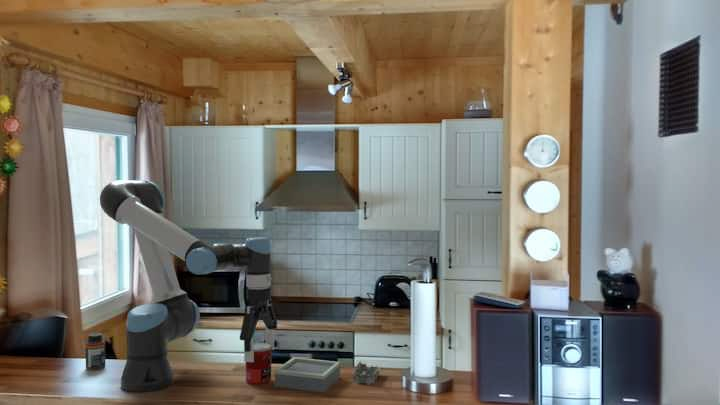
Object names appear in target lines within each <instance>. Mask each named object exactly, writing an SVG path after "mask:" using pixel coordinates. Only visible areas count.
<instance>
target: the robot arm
mask: <svg viewBox="0 0 720 405" xmlns="http://www.w3.org/2000/svg"><path fill="white" fill-rule="evenodd" d="M165 204H166V196H165V193H164V191H163V189H162V188H161V187H160V185H158V184H156V183H155V182H152V181H149V180H148V181H147V180H143V179H142V180H122V179H121V180H115V181H111V182H109V183H108V184H106V185H105V186H104V187H103V189H102V190H101V192H100V195H99V205H100V208H101V209H102V211H103V212H104V213H105V214H106V215H107V216H108V218H111V219H112V220H113V221H115V222H117V223H118V224H120V225H127V226H129V227H131V228H132V229H133V231H134V234H135V238H136V240H137V244H138V247H139V251H140V254H141V258H142V261H143V265H144V268H145V271H146V274H147V278H148V282H149V286H150V289H151V292H152V295H153V299H152V301H151V302H150V303H148V304H147V303H146V304H142V305H138V306H136V307H134V308H132V309H131V310H129V312H128V313H127V317H126V322H125V323H126V324H125V326H126V363H125V365H124V368H123V371H122V374H121V377H120V388H121V389H122V390H123V391H124V390H125V391H128V392H134V393H135V392H137V393H138V392H139V393H140V392H141V393H143V392H151V391H157V390H160V389H161V390H162V389H164V388H167V387H169V386H170V385H172V384H173V383H174V372H173V370H172V367H171V364H170V360H169V357H168V343H170V342H173V341H177V340H178V339H180V338H183V337H187V336H188V335H190V334H192V332H194V331H195V330H196V328H197V327H198V326H199V323H200V319H201V318H200V317H201V315H200V314H201V313H200V309H199V306H198V305H197V303H196V302H194V301H193V300H191V299H189V296H188V292H186V291H185V290H183V289H181V286H180V284H179V281H178V277H177V274H176V270H175V267H174V263H173V260H172V257H171V254H174V256H176V257H178V258H179V259H181V260H182V261H184V262H186V264H185V265H186V267H187V268H188V270H189V272H190V273H192V274H194V275H208V274H211V273H214V272H217V271H222V270H227V269H230V268H231V269H232V268H233V269H235V268H236V269H237V268H240V269H242V268H243V269H244V268H245V271H246V272H245V273H246V278H245V279H246V280H245V281H246V287H247V288H246V300H247V302H250V306H245V307H244V315H243V320H242V325H241V329H240V334H239V340H240V341H243V344H244V345H243V346H244V347H243V350H244V353H243V354H244V356H243V358H244V363H246V362H254V344H253V343H254V339H253V337H254V333H255V330H256V327H257V324H258V322H259V321H260V320H261V319H262V321H263V323H264V326H265V327H266V328H265V330H264V331H265V332H264V337H265V338H264V343H267V344H270V345H271V351H273V350H275V330H276V329H277V328H278V321H277V316H276V313H275V309H274V305H273V299H272V288H271V284H272V279H273V278H272V277H271V276H272V274H271V273H272V272H271V253H272V249H271V240H270V238H268V237H265V236H264V237H263V236H260V237H255V236H254V237H247V238H246V239H245V242H244V243H226V242H223V243H222V242H221V243H214V244H213V245H211V246H210V245H208V244H207V243H205V242H203V241H202V240H200V239H199V238H197V237H195V236H194V235H192V234H191V233H189V232H187V231H186V230H184V229H183V228H181V227H180V226H178V225H176V224H175V223H173V222H171V221H170V220H168V219H167V218H165V217H163V216H164V213H163V210H164V208H165V206H164V205H165ZM170 253H171V254H170ZM274 329H275V330H274Z"/></svg>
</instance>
